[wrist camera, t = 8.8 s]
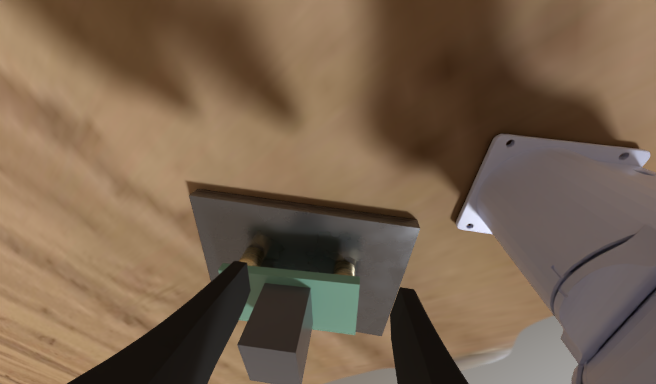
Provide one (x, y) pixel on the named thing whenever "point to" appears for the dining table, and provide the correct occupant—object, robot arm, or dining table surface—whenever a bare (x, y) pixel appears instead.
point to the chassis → (309, 244)
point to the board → (324, 295)
